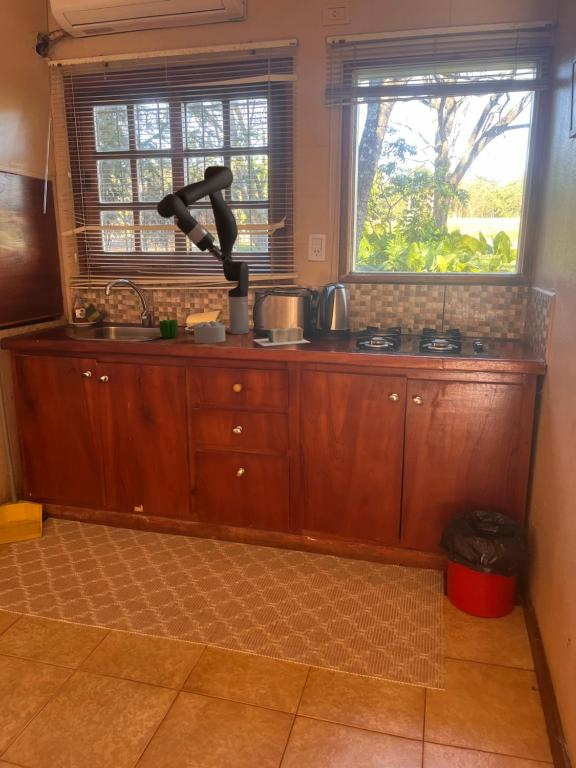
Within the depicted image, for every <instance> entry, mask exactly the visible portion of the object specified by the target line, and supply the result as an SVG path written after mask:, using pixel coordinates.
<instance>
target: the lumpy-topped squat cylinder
mask: <svg viewBox="0 0 576 768" xmlns="http://www.w3.org/2000/svg"><path fill="white" fill-rule="evenodd" d="M193 336H194V337H193V338H194V343H195V344H198V343H206V344H205V345H213V344H215V345H216V343H222V342H225V341H226V326H225V325H224V324H222V323H221V322H219V321H214V320H211V321H201V322H198V323H197V324H196V325H193Z"/></svg>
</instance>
